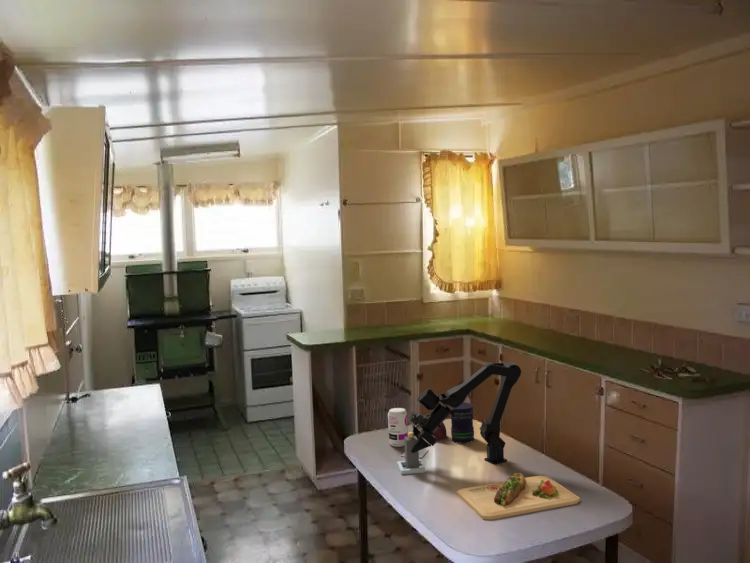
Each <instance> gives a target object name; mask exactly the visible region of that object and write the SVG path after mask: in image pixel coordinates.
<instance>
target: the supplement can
mask: <svg viewBox="0 0 750 563" xmlns="http://www.w3.org/2000/svg"><path fill="white" fill-rule="evenodd" d="M387 425H388V427H387V428H388V441H389V442H388V443H389V445H391V447H394V448H400V447H402V448H403V447H405V442H404V437H408V433H409V429H408V428H409V427H408V412H407V409H406V408H404V407H392V408H390V409H389V410H388V412H387Z"/></svg>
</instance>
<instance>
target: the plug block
mask: <svg viewBox="0 0 750 563" xmlns="http://www.w3.org/2000/svg"><path fill="white" fill-rule="evenodd" d="M417 441H418V439H417V437H416V436H414V433H413V432H412V431H408V437H404V442H405V446H404V452H405V457H404V458H405V460H404V461H405V462H406V466H405V469H411V468H420V464H419V459H420V458H419V452H418V451H417V452H415V453H412V452H411V450H412V449H413V447H414V445H415V444H416V442H417Z"/></svg>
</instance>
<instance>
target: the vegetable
mask: <svg viewBox="0 0 750 563" xmlns="http://www.w3.org/2000/svg"><path fill="white" fill-rule="evenodd" d="M447 435H448V434H447V428H446V425H445V423H444V421H443V422H442V423H441V427H440V428H439V427H438V428H437V429H436V430H435V431H434V435H433V436H434V437H435V438H436V441H442V440H445V439H446V438H447Z"/></svg>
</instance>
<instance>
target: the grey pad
mask: <svg viewBox="0 0 750 563" xmlns="http://www.w3.org/2000/svg"><path fill="white" fill-rule="evenodd" d="M418 452H419V459H422V458H423V457H424V456H425V455H426V454H427V453H428V452H429V450H428V449H422V450H419V451H418ZM400 457H403V458H405V451H403V453H402V454H400Z"/></svg>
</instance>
